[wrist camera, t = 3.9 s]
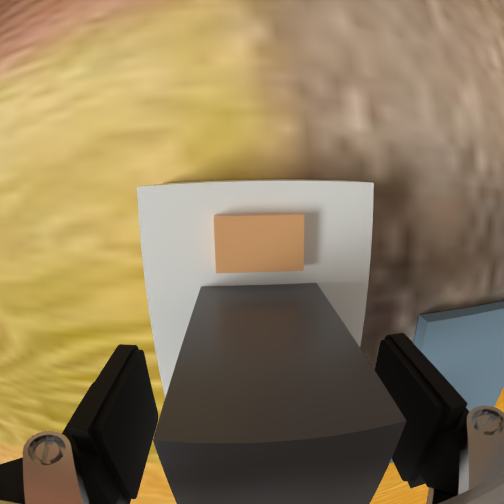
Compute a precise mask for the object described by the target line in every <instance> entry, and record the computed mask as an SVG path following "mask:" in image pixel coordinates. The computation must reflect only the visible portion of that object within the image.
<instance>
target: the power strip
mask: <svg viewBox="0 0 504 504" xmlns="http://www.w3.org/2000/svg"><path fill="white" fill-rule="evenodd" d="M137 194H138V211H139V225H140V237H141V248H142V258H143V267H144V276H145V284H146V292H147V300H148V307H149V314H150V320H151V326H152V333H153V339H154V344H155V350H156V355H157V361H158V366H159V371H160V376H161V381H162V386H163V390H164V395H165V398H166V394H167V391H168V388H169V384H170V381H171V378H172V375H173V371H174V368H175V365H176V362H177V359H178V355H179V352H180V349H181V346H182V343H183V340H184V337H185V333H186V330H187V327H188V324H189V321H190V318H191V315H192V312H193V309H194V306H195V303H196V300H197V297H198V294H199V291H200V288H201V286H242V285H274V284H300V283H317V284H318V286H319V287H320V289H321V290H322V292H323V293H324V295H325V296H326V298H327V299H328V301H329V302H330V303H331V305H332V306H333V308H334V309H335V311H336V312H337V314H338V315H339V317H340V318H341V320H342V321H343V323H344V324H345V326H346V327H347V329H348V330H349V332H350V333H351V335H352V336H353V338H354V339H355V341H356V342H357V344H358V345H359V347H360V346H361V339H362V333H363V325H364V318H365V309H366V301H367V292H368V282H369V270H370V258H371V243H372V225H373V194H374V183H371V182H359V181H346V180H302V179H273V180H225V181H200V182H181V183H165V184H155V185H147V186H140V187H137Z"/></svg>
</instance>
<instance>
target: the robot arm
mask: <svg viewBox="0 0 504 504" xmlns="http://www.w3.org/2000/svg"><path fill="white" fill-rule="evenodd" d="M375 372H376V373H377V375H378V376H379V378H380V379H381V381H382V383H383V384H384V386H385V387H386V389H387V390H388V392H389V394H390V395H391V397H392V398H393V400H394V402H395V403H396V405H397V406H398V408H399V410H400V411H401V413H402V414H403V416H404V418H405V419H406V424H405V426H404V429H403V432H402V434H401V437H400V439H399V442H398V444H397V447H396V449H395V451H394V454H393V456H392V460H393V462H394V464H395V466H396V468H397V470H398V472H399V474H400V476H401V478H402V480H403V481H408V483H409V486H410V488H413V487H416V486H419V485H422V484H425V483H426V485H427V487H429V490H428V497H427V503H426V504H504V413H503V412H502V411H501V410H499V409H497V408H495V407H492V406H478V407H475V408H473V409H472V410H471V411H470V412H469V410H468V409H467V408H466V406H467V404H468V403H467V402H466V401H465V400H464V399H463V397H462V396H461V395H460V394H459V393H458V392H457V391H456V390H455V388H454V387H453V386H452V385H451V384H450V383H449V382H448V381H447V379H446V378H445V377H444V376H443V375H442V374H441V373H440V372H439V371H438V369H437V368H436V367H435V366H434V365H433V364H432V363H431V362H430V361H429V360H428V359H427V357H426V356H425V355H424V354H423V353H422V352H421V351H420V350H419V349H418V348H417V347H416V346H415V345H414V344H413V342H412V341H411V340H410V339H409V338H408V337H407V336H406V335H405V334H404V333H399V334H392V335H387V336H386V337H385V340H382V341H381V342H380V347H379V352H378V357H377V362H376V367H375ZM157 423H158V411H157V407H156V403H155V399H154V395H153V391H152V387H151V383H150V378H149V374H148V369H147V365H146V360H145V355H144V352H143V350H139V349H138V347H137V346H136V345H122V344H120V345H118V347H117V348H116V350H115V351H114V353H113V354H112V356H111V357H110V359H109V360H108V362H107V364H106V365H105V367H104V368H103V370H102V371H101V373H100V375H99V376H98V378H97V379H96V381H95V382H94V383H93V384H92V385H91V387H90V388H89V390H88V391H87V393H86V395H85V396H84V398H83V399H82V401H81V403H80V404H79V406H78V408H77V409H76V411H75V413H74V414H73V416H72V418H71V419H70V421H69V423H68V424H67V426H66V428H65V429H64V431H63V433H62V434H61V433H59V432H55V431H43V432H40V433H37V434H35V435H33V436H32V437H31V438H29V439H28V440H27V442H26V443H25V445H24V448H23V458H20V459H16V460H13V461H10V462H7V463H3V464H0V504H130V501H131V499H136V497H137V494H138V491H139V487H140V483H141V479H142V476H143V472H144V468H145V465H146V461H147V458H148V454H149V450H150V447H151V443H152V440H153V437H154V433H155V430H156V426H157Z"/></svg>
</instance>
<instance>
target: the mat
mask: <svg viewBox="0 0 504 504" xmlns="http://www.w3.org/2000/svg"><path fill="white" fill-rule="evenodd" d="M413 344H414V345H415V346H416V347H417V348H418V349H419V350H420V351H421V352H422V353H423V354H424V355H425V356H426V357H427V359H428V360H429V361H430V362H431V363H432V364H433V365H434V366H435V367H436V368H437V369H438V371H439V372H440V373H441V374H442V375H443V376H444V377H445V378H446V379H447V381H448V382H449V383H450V384H451V385H452V386H453V387H454V388H455V390H456V391H457V392H458V393H459V394H460V395H461V396H462V397H463V399H464V400H465V401H466V402H467V403H468V404H467V406H466V408H467V409H468V410H469V412H470V411H471V410H472V409H473V408H475V407H478V406H492V407H494V406H495V404H496V402H497V400H498V397H499V395H500V393H501V391H502V388H503V386H504V301H501V302H496V303H491V304H485V305H480V306H474V307H468V308H462V309H456V310H449V311H443V312H436V313H429V314H422V315H419V318H418V323H417V328H416V333H415V338H414V342H413ZM392 462H393V460H392V458H391V460H390V463H392Z"/></svg>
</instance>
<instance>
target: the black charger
mask: <svg viewBox="0 0 504 504" xmlns="http://www.w3.org/2000/svg"><path fill="white" fill-rule="evenodd" d="M405 424H406V419H405V418H404V416H403V414H402V413H401V411H400V410H399V408H398V406H397V405H396V403H395V402H394V400H393V398H392V397H391V395H390V394H389V392H388V390H387V389H386V387H385V386H384V384H383V383H382V381H381V379H380V378H379V376H378V375H377V373H376V372H375V370H374V369H373V367H372V365H371V364H370V362H369V361H368V359H367V358H366V356H365V355H364V353H363V352H362V350H361V349H360V347H359V345H358V344H357V342H356V341H355V339H354V338H353V336H352V335H351V333H350V332H349V330H348V329H347V327H346V326H345V324H344V323H343V321H342V320H341V318H340V317H339V315H338V314H337V312H336V311H335V309H334V308H333V306H332V305H331V303H330V302H329V301H328V299H327V298H326V296H325V295H324V293H323V292H322V290H321V289H320V287H319V286H318V284H317V283H300V284H274V285H242V286H201V288H200V291H199V294H198V297H197V300H196V303H195V306H194V309H193V312H192V315H191V318H190V321H189V324H188V327H187V330H186V333H185V337H184V340H183V343H182V346H181V349H180V352H179V355H178V359H177V362H176V365H175V368H174V371H173V375H172V378H171V381H170V384H169V388H168V391H167V394H166V398H165V401H164V404H163V408H162V411H161V415H160V418H159V421H158V425H157V428H156V432H155V435H154V439H153V441H154V444H155V447H156V450H157V453H158V456H159V459H160V461H161V464H162V467H163V470H164V472H165V475H166V478H167V480H168V483H169V485H170V488H171V490H172V493H173V495H174V498H175V500H176V502H177V504H369V503H370V502H371V500H372V498H373V496H374V494H375V492H376V490H377V488H378V486H379V484H380V482H381V480H382V478H383V476H384V474H385V471H386V469H387V467H388V465H389V463H390V460H391V458H392V456H393V454H394V451H395V449H396V447H397V444H398V442H399V439H400V437H401V434H402V432H403V429H404V426H405Z"/></svg>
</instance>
